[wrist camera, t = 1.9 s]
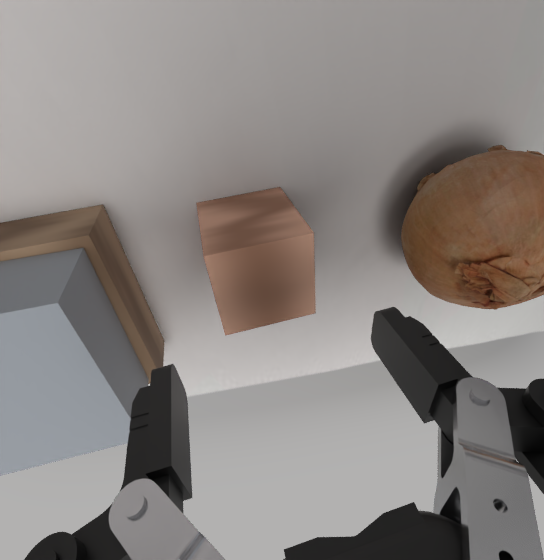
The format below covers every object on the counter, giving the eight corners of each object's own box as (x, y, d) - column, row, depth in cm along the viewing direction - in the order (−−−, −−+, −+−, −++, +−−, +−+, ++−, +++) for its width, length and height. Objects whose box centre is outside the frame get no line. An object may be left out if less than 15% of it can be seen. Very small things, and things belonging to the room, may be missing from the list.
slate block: (83, 247, 15) (57, 303, 11) (148, 379, 21) (143, 438, 18) (-173, 290, 13) (-283, 367, 10) (-22, 418, 19) (-61, 491, 16)
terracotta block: (279, 186, 19) (313, 232, 14) (285, 256, 22) (315, 313, 17) (196, 202, 18) (203, 256, 14) (214, 271, 21) (225, 335, 17)
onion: (375, 222, 26) (380, 324, 19) (443, 100, 19) (488, 195, 12) (486, 252, 26) (528, 363, 20) (595, 142, 19) (719, 259, 12)
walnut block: (104, 201, 18) (88, 235, 14) (164, 336, 24) (162, 380, 21) (-122, 241, 16) (-194, 288, 13) (8, 374, 23) (-18, 426, 20)
